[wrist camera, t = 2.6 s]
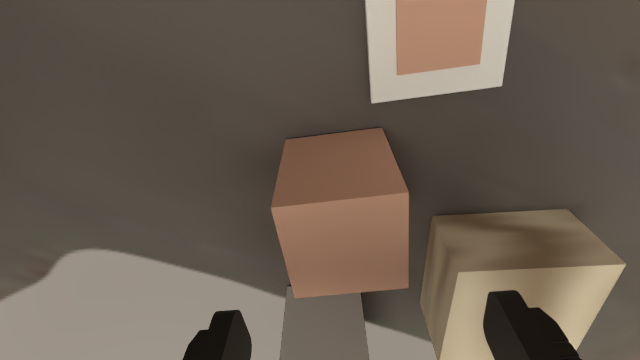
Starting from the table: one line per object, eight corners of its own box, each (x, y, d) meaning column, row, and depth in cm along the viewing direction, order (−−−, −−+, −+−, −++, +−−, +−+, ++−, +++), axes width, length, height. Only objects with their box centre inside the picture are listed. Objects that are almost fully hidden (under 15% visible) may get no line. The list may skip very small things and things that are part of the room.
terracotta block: (301, 215, 20) (294, 298, 15) (285, 139, 17) (270, 207, 12) (385, 206, 19) (408, 288, 14) (381, 127, 17) (408, 192, 12)
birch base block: (419, 302, 24) (438, 363, 20) (431, 215, 20) (458, 272, 16) (530, 297, 24) (571, 358, 20) (566, 208, 20) (626, 264, 16)
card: (370, 100, 16) (372, 104, 16) (361, -49, 13) (363, -49, 12) (498, 83, 16) (503, 87, 15) (520, -75, 13) (528, -76, 12)
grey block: (299, 330, 26) (294, 418, 21) (287, 286, 23) (277, 375, 18) (363, 325, 25) (375, 413, 20) (358, 279, 23) (370, 367, 18)
